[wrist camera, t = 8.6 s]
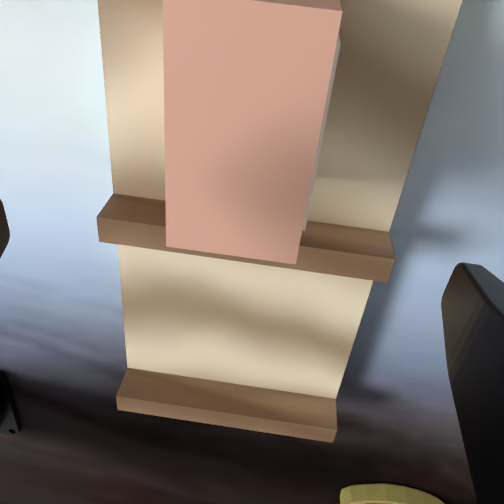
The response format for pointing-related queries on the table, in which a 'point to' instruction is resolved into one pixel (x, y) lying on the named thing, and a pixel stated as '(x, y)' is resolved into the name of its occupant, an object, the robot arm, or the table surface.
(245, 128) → the frame block
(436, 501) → the decorative book
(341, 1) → the ledge
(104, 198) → the table surface
